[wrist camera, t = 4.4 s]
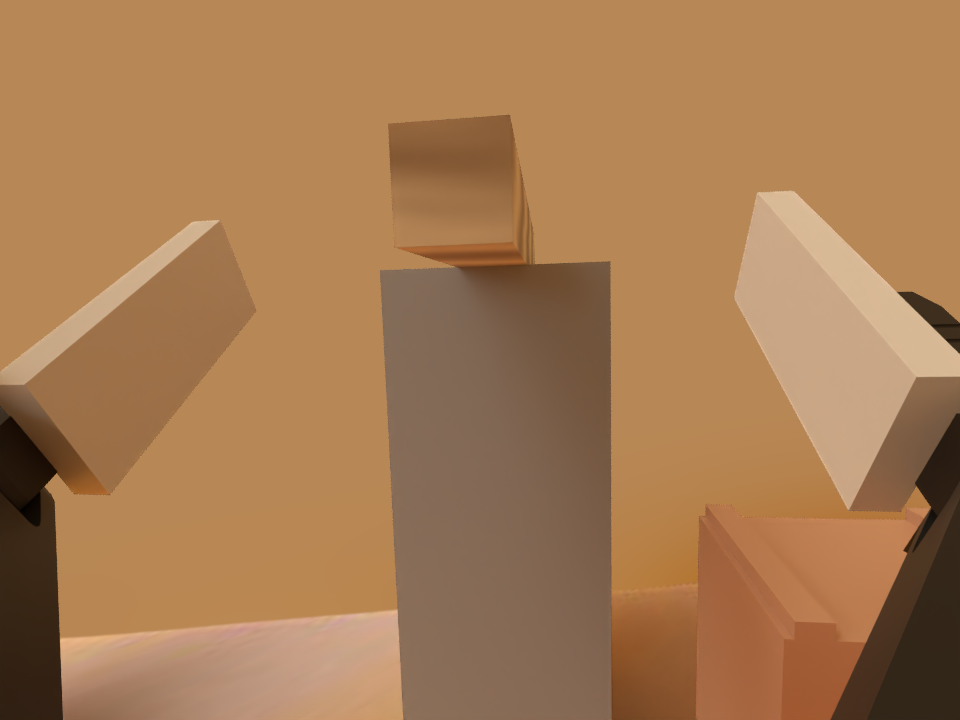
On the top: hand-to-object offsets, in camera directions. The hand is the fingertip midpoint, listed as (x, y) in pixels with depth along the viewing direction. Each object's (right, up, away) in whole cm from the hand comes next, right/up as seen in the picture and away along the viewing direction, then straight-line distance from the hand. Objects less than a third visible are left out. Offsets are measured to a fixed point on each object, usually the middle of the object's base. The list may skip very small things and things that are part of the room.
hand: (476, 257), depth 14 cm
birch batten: (+1, +2, +13) cm, 13 cm away
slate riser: (+2, -27, +21) cm, 35 cm away
